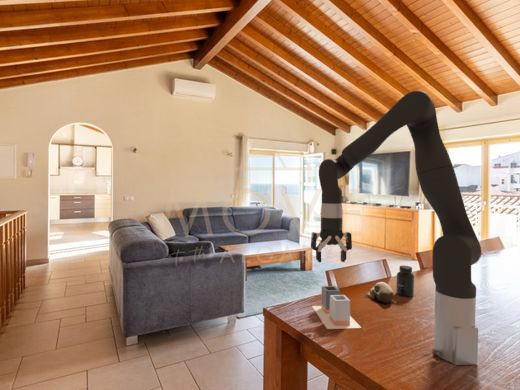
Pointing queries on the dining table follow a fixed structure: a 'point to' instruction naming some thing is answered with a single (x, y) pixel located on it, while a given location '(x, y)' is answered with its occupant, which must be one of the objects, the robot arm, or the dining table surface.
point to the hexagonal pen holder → (339, 310)
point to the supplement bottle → (405, 282)
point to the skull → (381, 294)
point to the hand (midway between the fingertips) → (331, 261)
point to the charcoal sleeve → (328, 297)
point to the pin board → (328, 322)
